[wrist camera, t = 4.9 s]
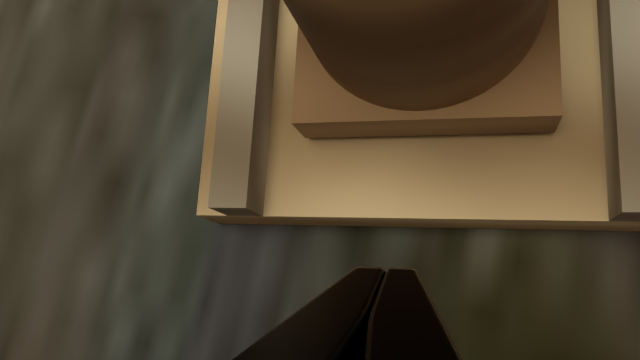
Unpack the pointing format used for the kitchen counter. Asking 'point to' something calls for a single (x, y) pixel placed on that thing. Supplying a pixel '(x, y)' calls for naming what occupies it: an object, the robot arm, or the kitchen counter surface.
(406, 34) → the brown cup
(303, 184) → the maple mount
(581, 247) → the kitchen counter surface
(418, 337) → the robot arm
